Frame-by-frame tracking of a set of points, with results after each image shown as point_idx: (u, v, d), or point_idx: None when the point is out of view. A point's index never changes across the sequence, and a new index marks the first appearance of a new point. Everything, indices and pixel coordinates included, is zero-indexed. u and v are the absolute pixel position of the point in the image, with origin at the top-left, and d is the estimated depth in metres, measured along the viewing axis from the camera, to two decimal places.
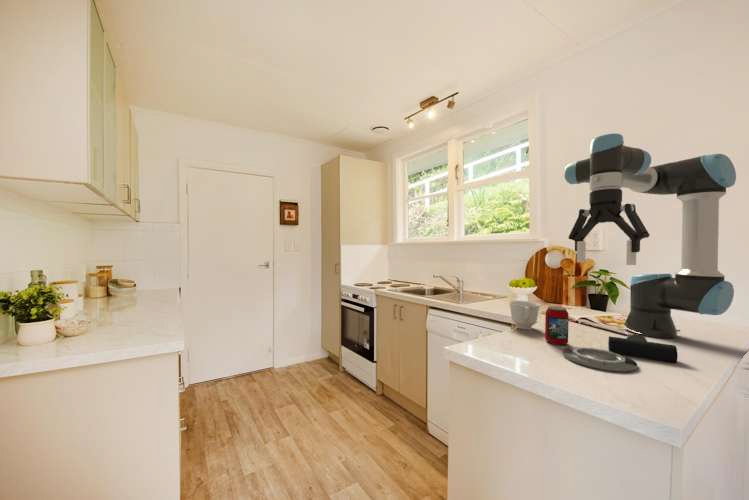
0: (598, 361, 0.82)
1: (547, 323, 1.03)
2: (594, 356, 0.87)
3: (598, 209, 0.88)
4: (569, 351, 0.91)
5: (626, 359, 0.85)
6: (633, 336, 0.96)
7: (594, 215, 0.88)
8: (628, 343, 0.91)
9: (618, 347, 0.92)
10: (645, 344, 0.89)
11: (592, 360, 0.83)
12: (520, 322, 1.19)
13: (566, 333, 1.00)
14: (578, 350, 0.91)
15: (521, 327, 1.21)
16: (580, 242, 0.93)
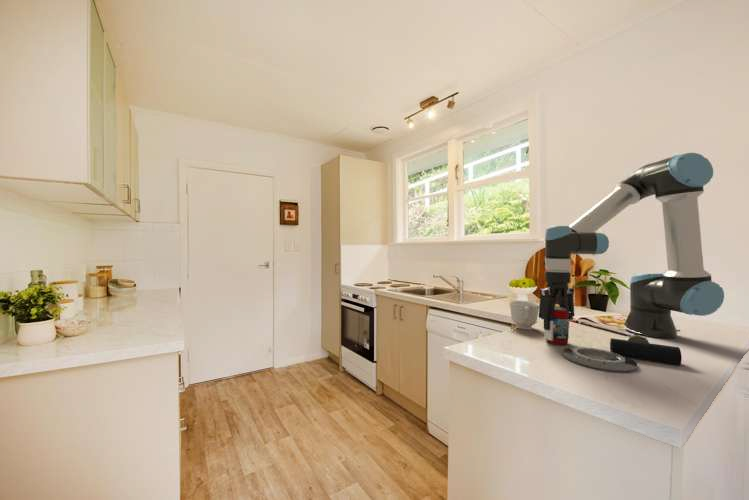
0: (598, 361, 0.82)
1: None
2: (594, 356, 0.87)
3: None
4: (569, 351, 0.91)
5: (626, 359, 0.85)
6: (635, 338, 0.94)
7: None
8: (631, 345, 0.89)
9: (621, 349, 0.89)
10: (648, 346, 0.87)
11: (592, 360, 0.83)
12: (520, 322, 1.19)
13: (566, 333, 1.00)
14: (578, 350, 0.91)
15: (521, 327, 1.21)
16: None
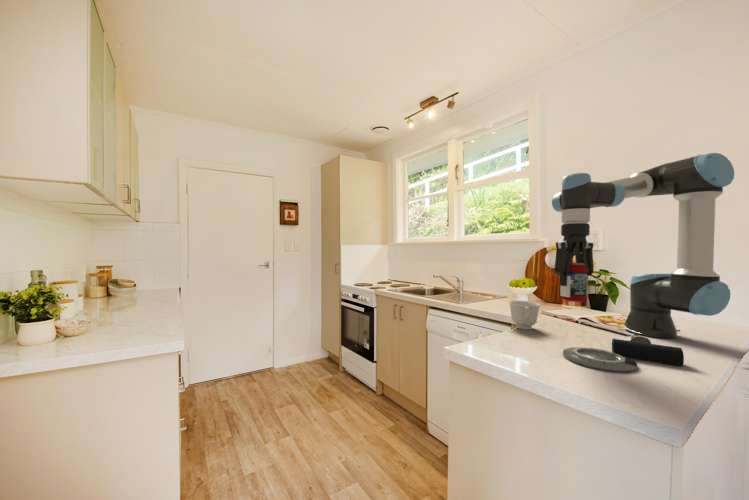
0: (598, 361, 0.82)
1: None
2: (594, 356, 0.87)
3: None
4: (569, 351, 0.91)
5: (626, 359, 0.85)
6: (637, 338, 0.93)
7: None
8: (633, 346, 0.88)
9: (622, 350, 0.89)
10: (650, 347, 0.86)
11: (592, 360, 0.83)
12: (520, 322, 1.19)
13: (584, 289, 0.92)
14: (578, 350, 0.91)
15: (521, 327, 1.21)
16: None
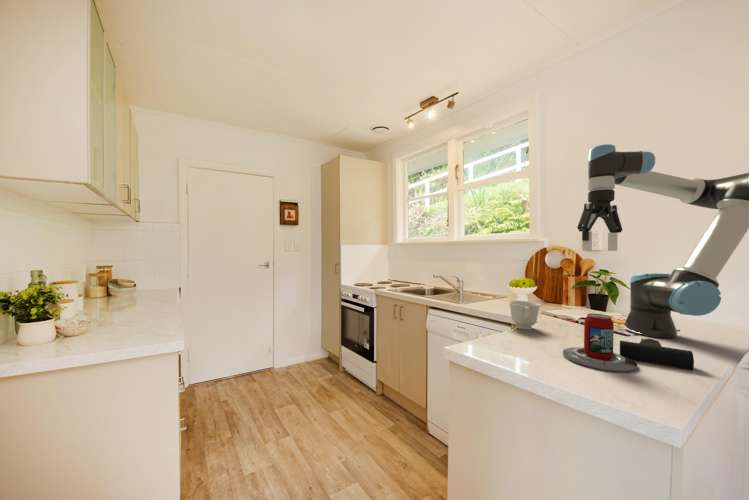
0: (598, 361, 0.82)
1: (587, 334, 0.86)
2: None
3: None
4: (569, 351, 0.91)
5: (626, 359, 0.85)
6: (646, 341, 0.91)
7: None
8: (640, 348, 0.86)
9: (629, 352, 0.87)
10: (659, 349, 0.84)
11: (592, 360, 0.83)
12: (520, 322, 1.19)
13: (611, 346, 0.84)
14: (578, 350, 0.91)
15: (521, 327, 1.21)
16: (609, 233, 1.09)
